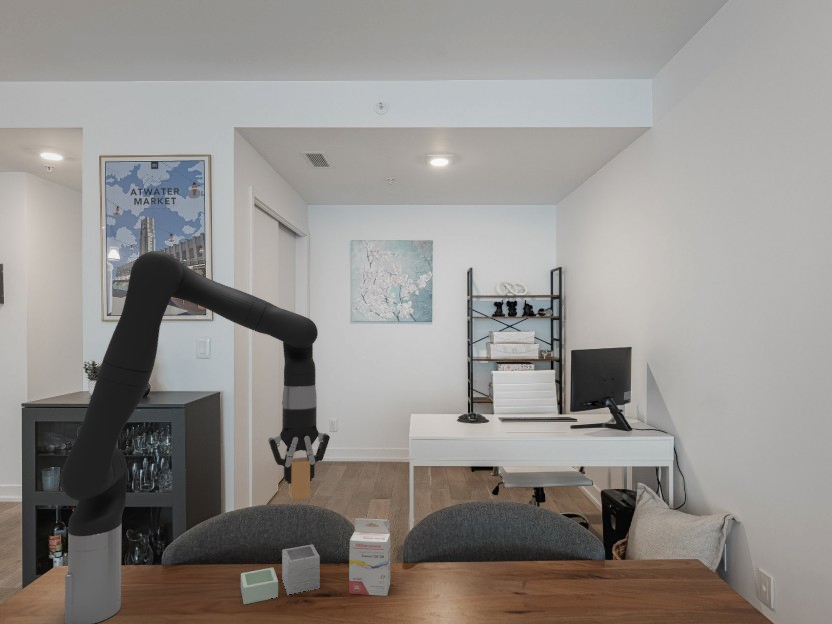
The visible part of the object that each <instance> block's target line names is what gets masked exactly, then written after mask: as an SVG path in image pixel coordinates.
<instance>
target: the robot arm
mask: <svg viewBox="0 0 832 624" xmlns="http://www.w3.org/2000/svg"><path fill="white" fill-rule="evenodd" d="M126 291H127V292H126V295H125V299H124V304H123V308H122V312H121V315H120V317H119V319H118V322H117V325H116V326H115V328H114V331H113V333H112V336H111V338H110V341H109V344H108V346H107V348H106V351H105V352H104V353H105V354H104V356H103V359H102V362H101V365H100V368H99V370H98V374H97V377H96V381H95V384H94V388H93V392H92V393H91V396H90V399H89V402H88V406H87V408H86V412H85V415H84V419H83V422H82V424H81V426H80V429H79V432H78V434H77V436H76V438H75V441H74V443H73V446H72V447H71V449H70V451H69V454H68V456H67V458H66V461H65V462H64V464H63V467H62V471H61V476H60V482H61V483H60V484H61V487H62V490H63V492H64V493H65V494H66V495H67V496H68V497H69V498H70V499H72V500H75V501H78V502H77V504H76V507H75V509H74V510H73V512H72V513H71V514H70V516H69V519H68V522H67V523H68V525H67V526H68V531H67V534H68V537H67V539H68V540H67V542H68V543H67V544H68V545H67V547H68V548H67V551H68V553H67V572H66V574H65V576H64V577H65V578H64V581H65V582H64V624H96V623H100V622H103V621H105V620H107V619H109V618H112V617H113V616H114V615H116V614H117V613H118V612H119V611H120V609H121V605H122V603H121V602H122V601H121V600H122V521H123V518H122V517H123V512H124V509H125V508H126V501H127V484H128V465H127V459H126V457H125V454H124V453H123V451H121V450H120V448H118V447H116V446H117V444H118V441H119V438H120V435H121V433H122V432H123V429H124V428H125V426H126V424H127V422H128V421H129V419H130V418H131V417H132V415H133V414H134V412H135V410H137V407H138V406H139V404H140V402H141V401H142V398H143V397H144V395H145V393H146V391H147V388H148V386H149V385H148V384H149V382H150V380H151V376H152V373H153V370H154V366H155V362H156V358H157V352H158V345H159V338H160V337H159V336H160V330H161V326H162V325H161V324H162V321H163V319H164V315H165V313H166V311H167V308H168V306H169V304H170V300H171V298H175V299H178V300H182V301H186V302H189V303H192V304H194V305H197V306H199V307H202V308H204V309H206V310H208V311H211V312H213V313H215V315H216V314H217V315H218V316H220V317H222V318H224V319H226V320H228V321H229V322H230V321H231V322H232V323H235V324H237V325H239V326H242V327H244V328H247V329H250V330H252V331H254V332H256V333H260V334H264V335H268V336H270V337H272V338H274V339H277V340H279V341H281V342H282V346H283V358H284V366H283V391H282V401H281V406H282V425H281V426H282V428H281V429H282V430H281V431H280V434H279V435H277V436H275V437H269V438H268V444H269V446H270V450H271V452H272V456H273V458H274V461H275V462H276V464H277V465H278V466H283V479H284V481H285V482H286V483H287V485H289V484H291V466H290V465H291V462H292V458H294V456H295V453H296V452H299V451H303V452H305V456H306V457H307V458H308V459H309V461H310V482H312V480H313V479H314V478H315V467H316V466H315V465H316V464H317V462H322V461H323V459H324V456H325V453H326V450H327V448H328V444H329V441H330V439H331V438H330V437H331V436H330V435H329V434H328V433H326V432H325V433H323V432H319V430H318V428H317V404H318V403H317V400H318V398H317V388H316V364H315V361H314V357H313V356H314V352H313V351H314V349H313V348H314V343H315V342H316V340H317V338H318V333H319V332H318V327H317V325H316V323H315V322H314V321H313V320H312V319H310V318H309V317H306V316H303V315H302V314H299V313H295V312H293V311H290V310H287V309H285V308H281V307H279V306H277V305H274V304H273V303H270V302H269V301H267V300H265V299H262V298H260V297H257V296H256V295H255V296H254V295H253V294H250V293H247V292H245V291H243V290H239V289H236V288H233V287H231V286H228V285H225V284H222V283H220V282H217V281H215V280H212V279H210V278H208V277H206V276H204V275H202V274H200V273H199V272H197V271H195V270H194V269H192V268H190V267H189V266H187V265H185V264H183V263H182V262H180V261H179V259H177V258H176V257H175V256H174V255H172V254H170V253H167V252H164V251H160V250H151V251H147V252H145V253H142V254H141V255H139V256H138V257H137V258H136V259H135V261H134V262H133V263H132V266H131V268H130V275H129V279H128V285H127V290H126ZM317 438H318V442H319V444H318V447H317V449H316V453H315V455H314V450H313V444H314V443H315V441H316V440H317ZM281 441H282V442H283V444H284V445H285V446H286V450H285V453H284V454H285V455H284V457H283V458H282V456H281V453H280V450H279V449H278V448H279V447H281Z"/></svg>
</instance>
